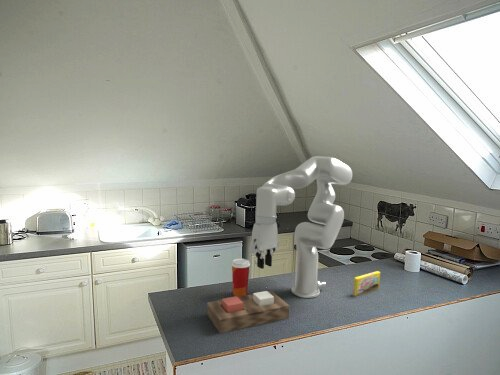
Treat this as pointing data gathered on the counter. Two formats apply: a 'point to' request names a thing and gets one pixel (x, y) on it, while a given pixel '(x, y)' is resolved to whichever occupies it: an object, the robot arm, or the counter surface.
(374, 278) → the candy box
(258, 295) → the white key
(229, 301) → the red key
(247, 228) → the counter surface
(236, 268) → the coffee cup
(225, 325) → the panel
